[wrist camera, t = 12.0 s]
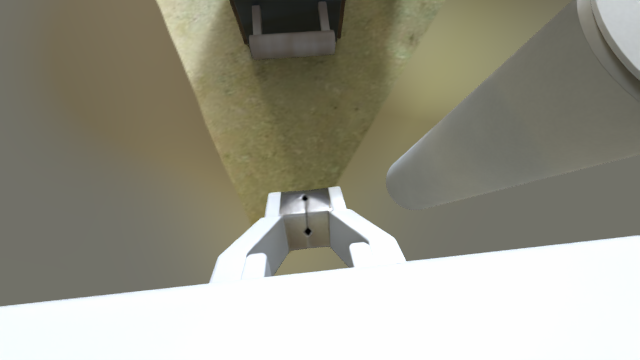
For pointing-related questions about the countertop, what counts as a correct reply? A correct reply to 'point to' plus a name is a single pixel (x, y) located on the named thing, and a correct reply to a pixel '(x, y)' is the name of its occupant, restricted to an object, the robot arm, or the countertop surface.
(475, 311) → the robot arm
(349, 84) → the countertop surface
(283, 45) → the drawer
